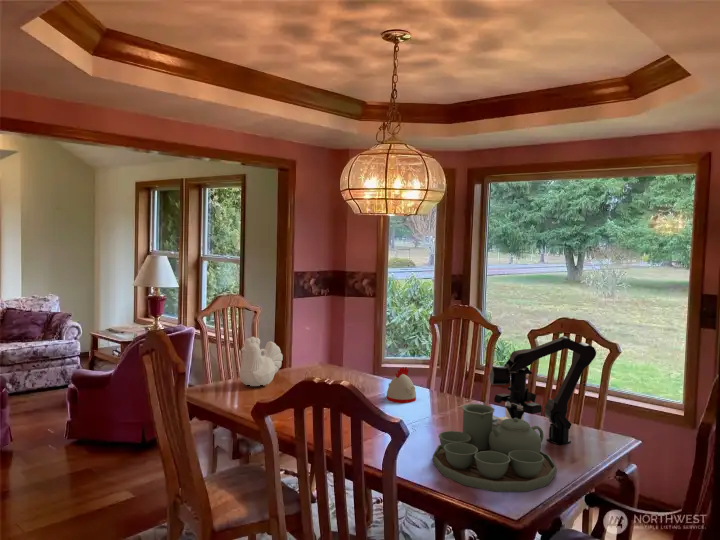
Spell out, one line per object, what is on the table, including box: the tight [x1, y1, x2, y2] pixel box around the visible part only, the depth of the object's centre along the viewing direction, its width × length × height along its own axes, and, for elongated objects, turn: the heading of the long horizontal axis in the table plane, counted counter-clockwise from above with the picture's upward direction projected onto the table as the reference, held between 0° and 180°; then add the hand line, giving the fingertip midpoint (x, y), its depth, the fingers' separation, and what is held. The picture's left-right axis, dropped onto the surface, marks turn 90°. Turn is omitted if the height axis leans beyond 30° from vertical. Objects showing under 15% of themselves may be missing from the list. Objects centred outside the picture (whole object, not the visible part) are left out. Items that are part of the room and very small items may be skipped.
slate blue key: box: [493, 414, 500, 422], centre depth 235 cm, size 4×4×3 cm
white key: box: [497, 416, 510, 425], centre depth 230 cm, size 4×4×3 cm
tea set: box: [432, 403, 557, 493], centre depth 199 cm, size 40×40×16 cm
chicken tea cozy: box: [385, 366, 417, 404], centre depth 279 cm, size 14×14×15 cm
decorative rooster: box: [239, 336, 284, 387], centre depth 299 cm, size 25×16×25 cm, turn 126°
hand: (516, 425), depth 225 cm, fingers closed
